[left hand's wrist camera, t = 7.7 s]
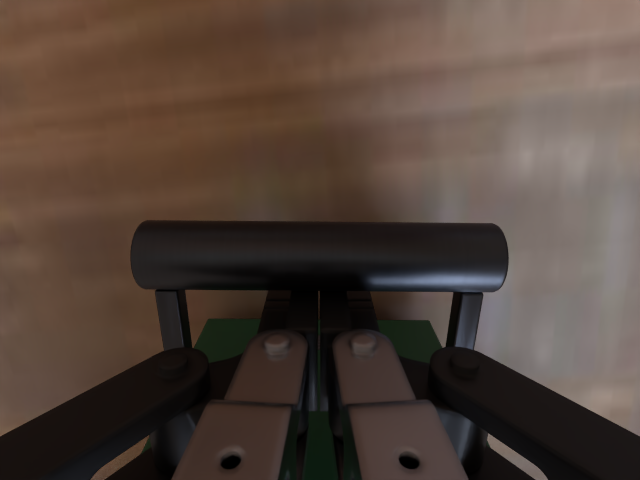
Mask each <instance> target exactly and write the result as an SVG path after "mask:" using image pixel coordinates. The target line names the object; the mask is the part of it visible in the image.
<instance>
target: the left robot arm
mask: <svg viewBox="0 0 640 480" xmlns="http://www.w3.org/2000/svg"><path fill="white" fill-rule="evenodd" d="M317 397H318V291H285V290H268V294H267V298H266V302H265V305H264V309H263V313H262V317H261V320H260V324H259V328H258V332H257V335H255V336H254V337H252V338H251V339H250V340H249V342H248V343H247V345H246V348H245V350H244V352H243V353H241V354H239V355H237V356H235V357H232V358H229V359H225V360H220V361H215V362H211V363H209V361H208V357H207V356H206V354H205V353H204V352H202V351H200V350H198V349H195V348H189V347H181V348H173V349H169V350H166V351H163V352H160V353H158V354H156V355H154V356H152V357H150V358H149V359H147V360H145V361H143V362H141V363H139V364H137V365H135V366H133V367H131V368H130V369H128V370H126V371H124V372H122V373H120V374H118V375H116V376H114V377H112V378H111V379H109V380H107V381H105V382H103V383H101V384H99V385H97V386H95V387H93V388H92V389H90V390H88V391H86V392H84V393H82V394H80V395H78V396H76V397H74V398H73V399H71V400H69V401H67V402H65V403H63V404H61V405H59V406H57V407H55V408H54V409H52V410H50V411H48V412H46V413H44V414H42V415H40V416H38V417H36V418H35V419H33V420H31V421H29V422H27V423H25V424H23V425H21V426H19V427H17V428H16V429H14V430H12V431H10V432H8V433H6V434H4V435H2V436H0V480H90V479H91V478H92V477H93V475H94V474H95V473H96V472H97V471H98V470H99V469H100V468H101V467H103V466H104V465H105V464H107V463H108V462H110V461H111V460H113V459H114V458H116V457H117V456H119V455H120V454H122V453H123V452H125V451H126V450H127V449H129V448H130V447H132V446H133V445H135V444H136V443H138V442H139V441H141V440H142V439H144V438H145V437H147V436H148V435H149V437H150V442H151V447H150V448H149V449H147V450H146V451H145V452H143V453H142V454H140V455H139V456H138V457H136V458H135V459H133V460H132V461H130V462H129V463H128V464H126V465H125V466H123V467H122V468H121V469H119V470H118V471H116V472H115V473H114V474H112V475H111V476H109V477H108V478H106V479H105V480H304V475H305V467H306V459H307V451H308V443H309V411H317ZM320 411H328V420H329V426H330V429H331V443H332V451H333V459H334V467H335V475H336V480H535V479H534V478H532V477H531V476H529V475H528V474H526V473H525V472H524V471H522V470H521V469H519V468H518V467H517V466H515V465H514V464H512V463H511V462H510V461H508V460H507V459H505V458H504V457H502V456H501V455H500V454H498V453H497V452H495V451H494V450H493V449H491V448H490V447H488V446H487V445H486V442H487V437H488V433H489V434H490V435H492V436H493V437H495V438H496V439H498V440H499V441H501V442H502V443H504V444H505V445H507V446H508V447H510V448H511V449H513V450H514V451H515V452H517V453H518V454H520V455H521V456H523V457H524V458H526V459H527V460H529V461H530V462H532V463H533V464H534V465H536V466H537V467H538V468H539V469H540V470H541V471H542V472H543V473H544V474H545V476H546V477H547V478H548V480H640V436H638V435H636V434H634V433H632V432H630V431H628V430H626V429H624V428H623V427H621V426H619V425H617V424H615V423H613V422H611V421H609V420H607V419H605V418H604V417H602V416H600V415H598V414H596V413H594V412H592V411H590V410H588V409H586V408H585V407H583V406H581V405H579V404H577V403H575V402H573V401H571V400H569V399H567V398H566V397H564V396H562V395H560V394H558V393H556V392H554V391H552V390H550V389H548V388H547V387H545V386H543V385H541V384H539V383H537V382H535V381H533V380H531V379H529V378H528V377H526V376H524V375H522V374H520V373H518V372H516V371H514V370H512V369H510V368H509V367H507V366H505V365H503V364H501V363H499V362H497V361H495V360H493V359H491V358H490V357H488V356H486V355H484V354H482V353H480V352H478V351H475V350H472V349H468V348H464V347H455V346H454V347H444V348H441V349H438V350H436V351H435V352H434V353H433V354H432V355H431V358H430V363H426V362H421V361H416V360H412V359H408V358H405V357H402V356H400V355H398V354H397V353H396V350H395V348H394V345H393V343H392V342H391V340H390V339H389V338H388V337H386V336H385V335H383V334H382V333H380V330H379V326H378V322H377V318H376V314H375V310H374V307H373V303H372V299H371V295H370V291H320Z"/></svg>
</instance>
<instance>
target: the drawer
mask: <svg viewBox="0 0 640 480" xmlns="http://www.w3.org/2000/svg"><path fill="white" fill-rule="evenodd" d="M508 259H509V257H508V247H507V242H506V238H505V236H504V233H503V232H502V230H501V229H500V227H499V226H497V225H495V224H492V223H401V222H286V221H171V220H147V221H144V222H142V223H141V224H140V225H139V226H138V228H137V229H136V231H135V234H134V236H133V240H132V245H131V268H132V273H133V276H134V279H135V281H136V283H137V284H138V285H139V286H140V287H141V288H143V289H156V291H155V295H156V302H157V308H158V315H159V321H160V327H161V334H162V340H163V347H164V351H166V350H169V349H173V348H181V347H189V348H192V342H191V334H190V326H189V318H188V310H187V302H186V294H185V290H285V291H405V292H453V299H452V306H451V313H450V320H449V327H448V334H447V341H446V347H454V346H455V347H464V348H468V349H472V350H474V345H475V340H476V334H477V328H478V323H479V317H480V311H481V305H482V300H483V293H482V292H495V291H497V290H499V289H500V288H501V287H502V285H503V283H504V281H505V279H506V275H507V271H508ZM260 320H261V319H208V320H207V322H206V324H205V326H204V328H203V330H202V332H201V334H200V336H199V338H198V340H197V342H196V344H195V346H194V348H195V349H198V350H200V351H202V352H204V353H205V354H206V356H207V357H208V361H209V363H211V362H215V361H220V360H225V359H229V358H232V357H235V356H237V355H239V354H241V353H243V352H244V350H245V348H246V345H247V343H248V342H249V340H250V339H251V338H252V337H254V336H255V335H257V332H258V328H259V324H260ZM377 322H378V326H379V330H380V333H382V334H383V335H385V336H386V337H388V338H389V339H390V340H391V342H392V343H393V345H394V348H395V350H396V353H397V354H398V355H400V356H402V357H405V358H408V359H412V360H416V361H421V362H426V363H430V358H431V355H432V354H433V353H434V352H435V351H436V350H438V349H441V348H442V346H441V344H440V342H439V340H438V338H437V336H436V334H435V332H434V329H433V327H432V325H431V323H430V321H428V320H377ZM486 445H487V446H488V447H490V446H489V444H488V442H486ZM150 447H151V442H150V437H149V439H148V441H147V443H146V445H145V447H144V449H143V451H142V453H143V452H145V451H146V450H147V449H149V448H150ZM142 453H141V454H142ZM304 480H336V475H335V467H334V459H333V451H332V443H331V429H330V426H329V420H328V411H320V320H318V397H317V411H309V443H308V451H307V459H306V467H305V475H304Z"/></svg>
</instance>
